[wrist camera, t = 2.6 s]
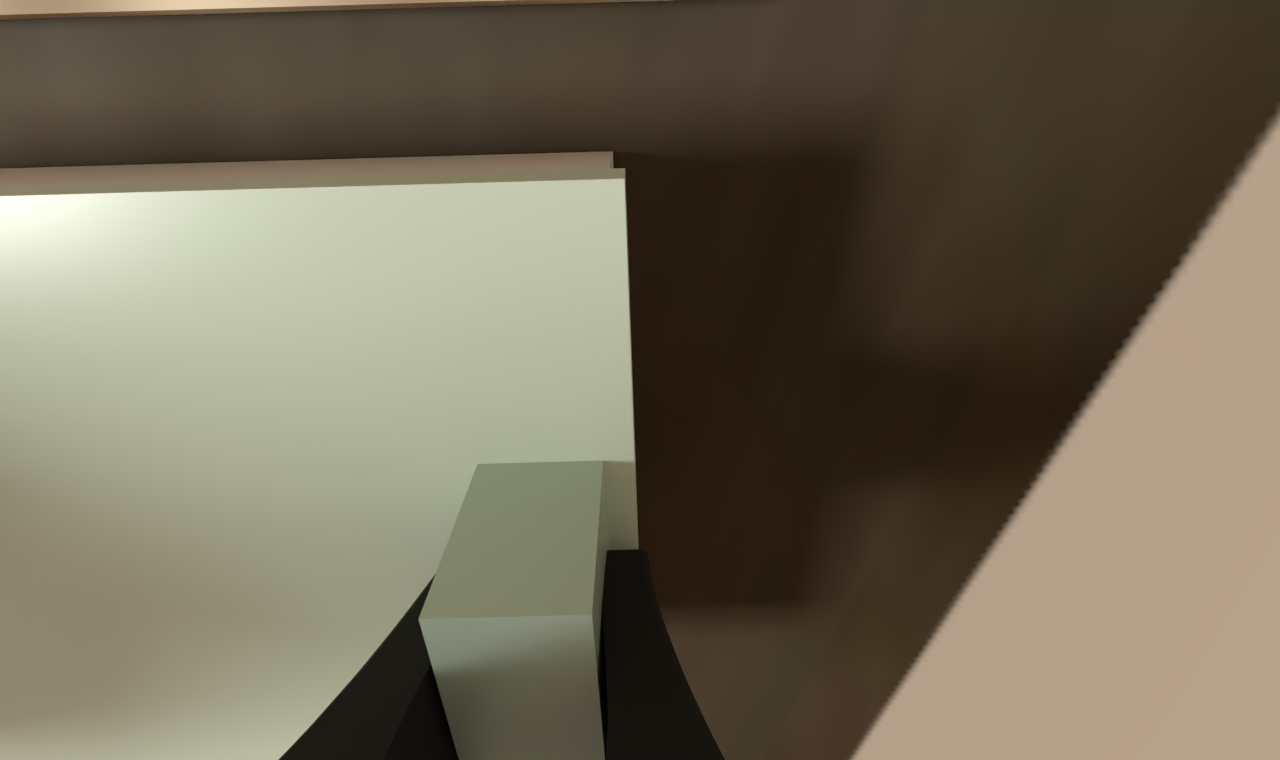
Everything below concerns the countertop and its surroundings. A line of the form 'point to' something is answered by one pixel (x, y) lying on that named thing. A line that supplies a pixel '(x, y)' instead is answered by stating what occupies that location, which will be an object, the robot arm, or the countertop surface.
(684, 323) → the countertop surface
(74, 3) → the board
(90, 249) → the lid
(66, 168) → the tub
